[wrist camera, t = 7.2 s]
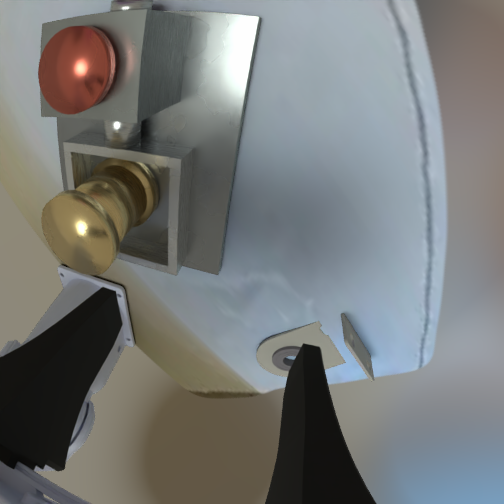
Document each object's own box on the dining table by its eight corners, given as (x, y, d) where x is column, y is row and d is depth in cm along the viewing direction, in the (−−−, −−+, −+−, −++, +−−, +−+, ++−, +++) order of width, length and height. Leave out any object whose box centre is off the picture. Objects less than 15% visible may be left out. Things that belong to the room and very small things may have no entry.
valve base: (220, 268, 23) (192, 338, 18) (76, 228, 24) (30, 278, 19) (263, 8, 12) (231, -15, 7) (67, 13, 13) (-10, 22, 8)
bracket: (244, 340, 29) (236, 370, 26) (346, 307, 24) (347, 342, 21) (280, 375, 31) (276, 403, 29) (372, 351, 27) (374, 382, 24)
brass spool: (159, 226, 21) (117, 284, 16) (100, 213, 21) (52, 263, 17) (158, 158, 18) (104, 206, 13) (93, 150, 18) (33, 192, 14)
